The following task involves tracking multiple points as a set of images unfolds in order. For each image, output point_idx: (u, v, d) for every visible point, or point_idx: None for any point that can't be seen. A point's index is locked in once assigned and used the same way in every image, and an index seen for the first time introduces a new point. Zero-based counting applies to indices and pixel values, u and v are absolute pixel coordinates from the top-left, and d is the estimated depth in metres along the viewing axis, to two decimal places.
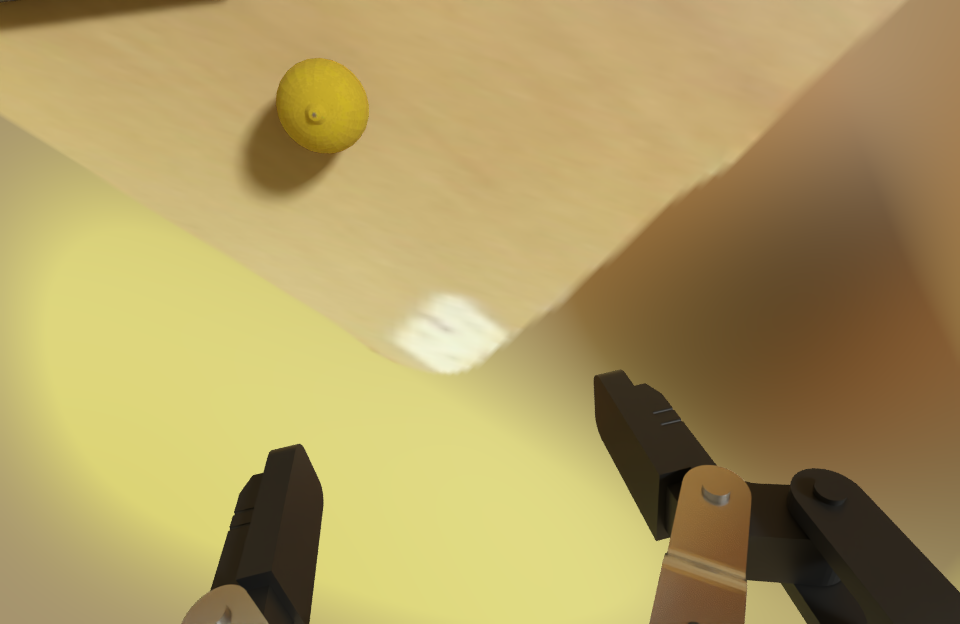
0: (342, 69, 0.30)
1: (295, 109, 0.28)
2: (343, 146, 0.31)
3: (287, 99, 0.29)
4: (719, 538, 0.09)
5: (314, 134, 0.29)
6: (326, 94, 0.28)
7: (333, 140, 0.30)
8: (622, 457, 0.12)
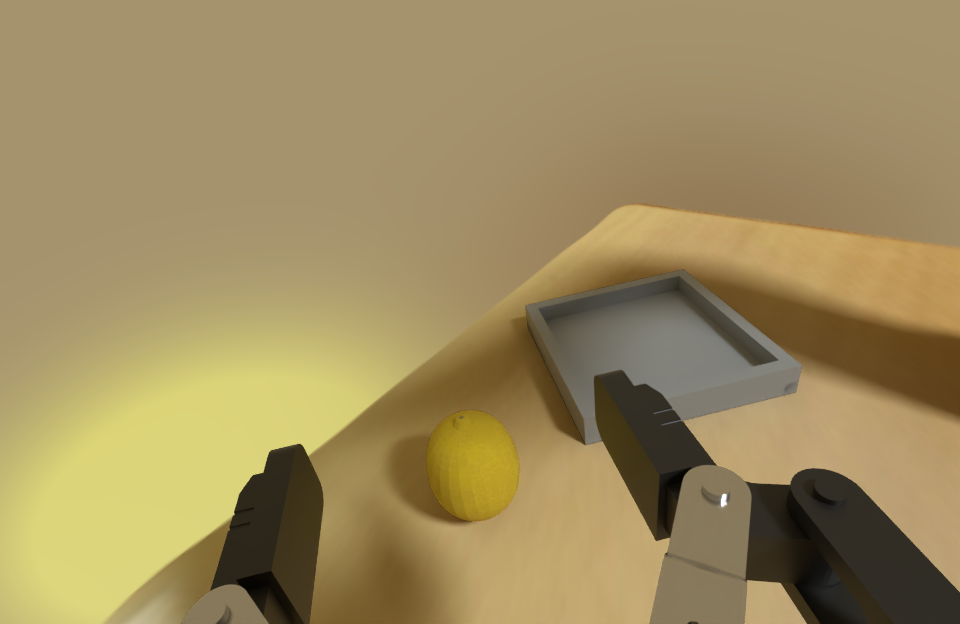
0: (509, 469, 0.28)
1: (467, 411, 0.29)
2: (431, 463, 0.28)
3: None
4: (718, 539, 0.09)
5: (444, 425, 0.29)
6: (481, 432, 0.28)
7: (438, 443, 0.28)
8: (622, 457, 0.12)
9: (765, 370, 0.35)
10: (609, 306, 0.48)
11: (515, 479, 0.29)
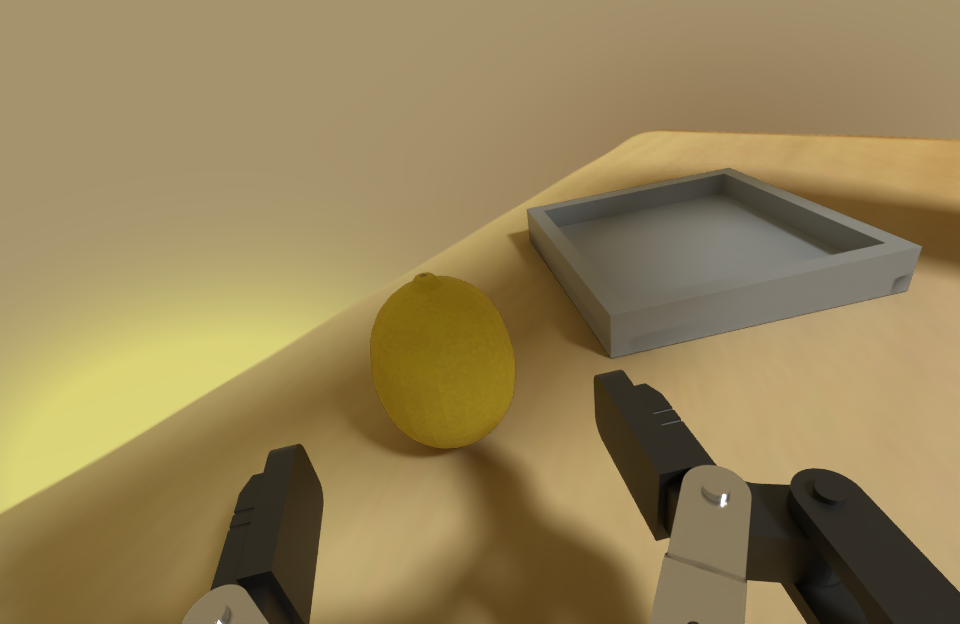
0: (498, 359, 0.18)
1: None
2: (375, 348, 0.18)
3: None
4: (718, 538, 0.09)
5: (396, 292, 0.18)
6: (455, 297, 0.17)
7: (385, 316, 0.18)
8: (622, 457, 0.12)
9: (869, 254, 0.25)
10: (634, 212, 0.38)
11: (508, 380, 0.18)
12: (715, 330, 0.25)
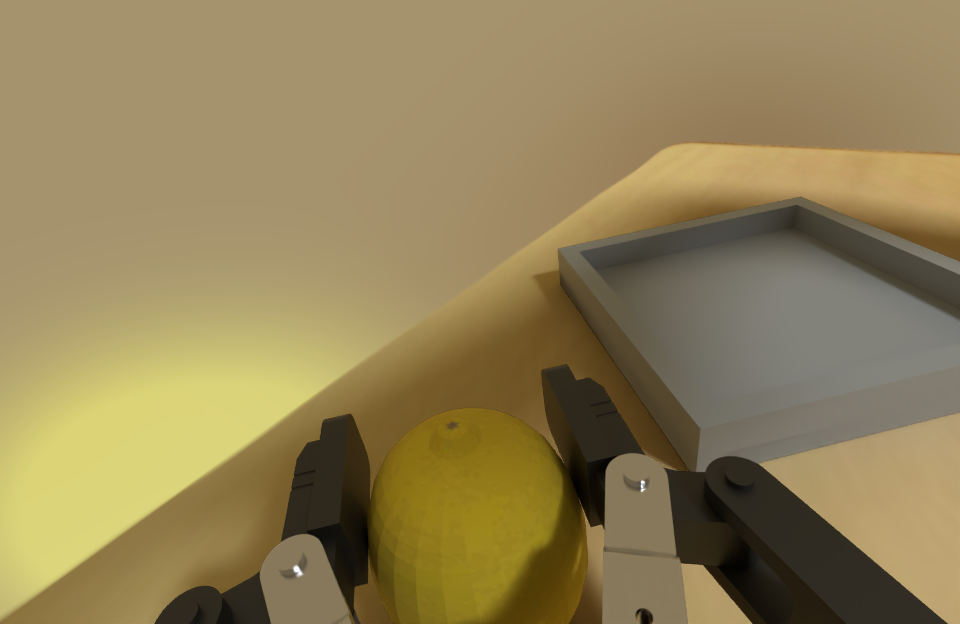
0: (572, 557, 0.11)
1: (466, 411, 0.12)
2: (375, 540, 0.11)
3: (487, 409, 0.13)
4: (647, 522, 0.09)
5: (409, 443, 0.12)
6: (504, 464, 0.11)
7: (391, 492, 0.11)
8: (564, 448, 0.13)
9: None
10: (688, 251, 0.31)
11: (582, 577, 0.12)
12: (834, 439, 0.18)
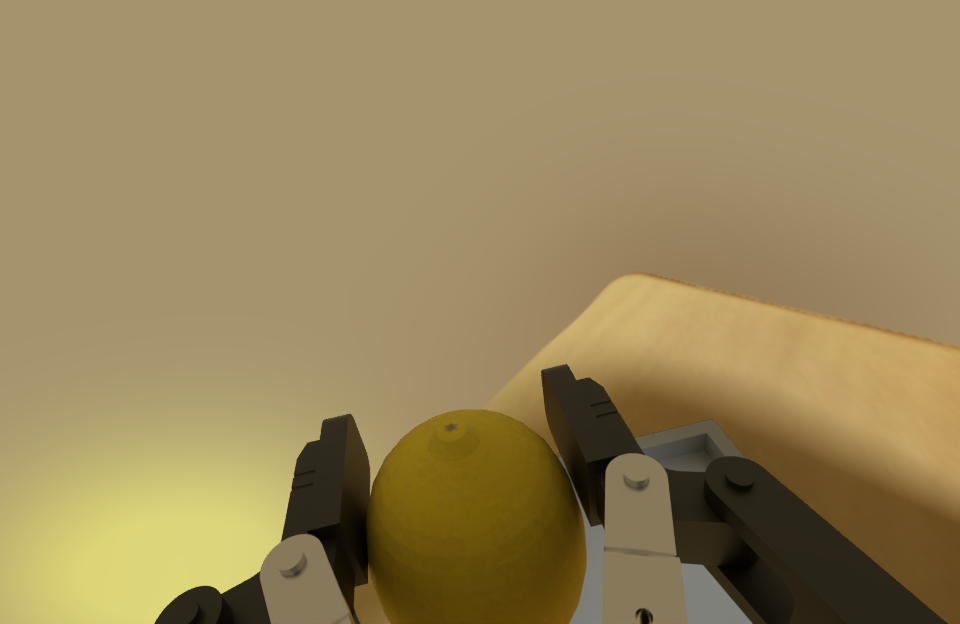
0: (570, 559, 0.11)
1: (465, 413, 0.12)
2: (374, 543, 0.11)
3: (486, 410, 0.13)
4: (647, 523, 0.09)
5: (408, 446, 0.12)
6: (502, 466, 0.11)
7: (390, 493, 0.11)
8: (564, 448, 0.13)
9: None
10: None
11: (581, 579, 0.12)
12: None
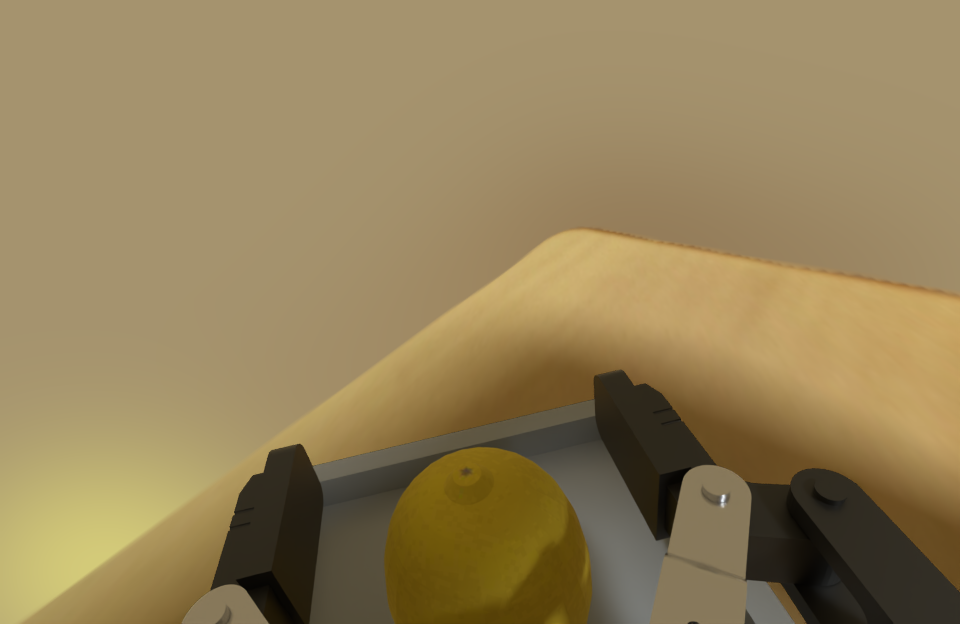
0: (578, 595, 0.12)
1: (477, 453, 0.13)
2: (393, 579, 0.12)
3: (497, 449, 0.14)
4: (718, 538, 0.09)
5: (424, 486, 0.12)
6: (515, 509, 0.11)
7: (408, 534, 0.12)
8: (622, 457, 0.12)
9: None
10: None
11: (587, 610, 0.13)
12: None
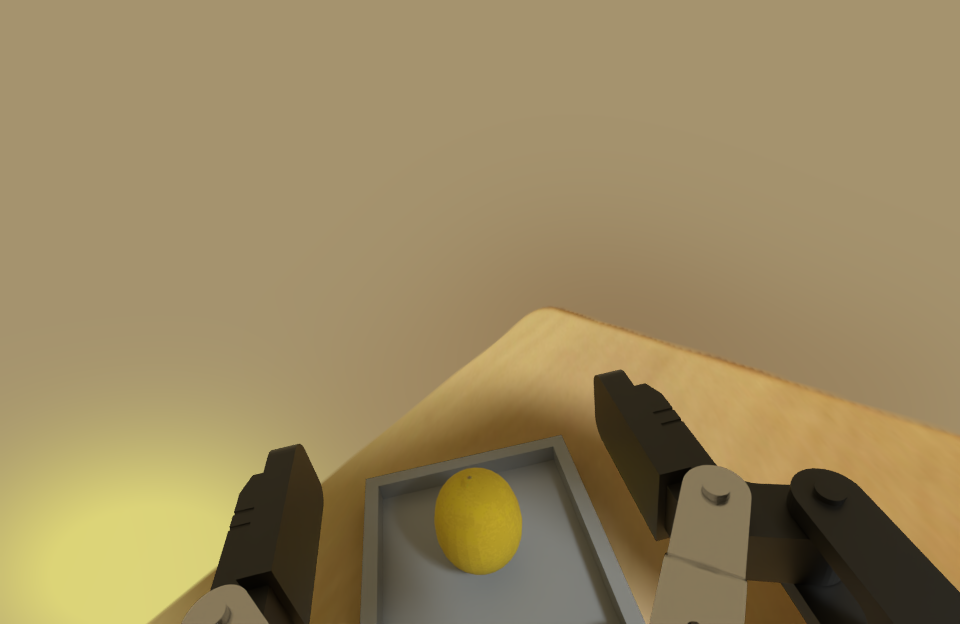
0: (513, 527, 0.30)
1: (474, 470, 0.31)
2: (440, 520, 0.30)
3: (482, 468, 0.32)
4: (718, 538, 0.09)
5: (452, 483, 0.30)
6: (488, 492, 0.30)
7: (446, 501, 0.30)
8: (622, 457, 0.12)
9: None
10: None
11: (518, 536, 0.31)
12: None
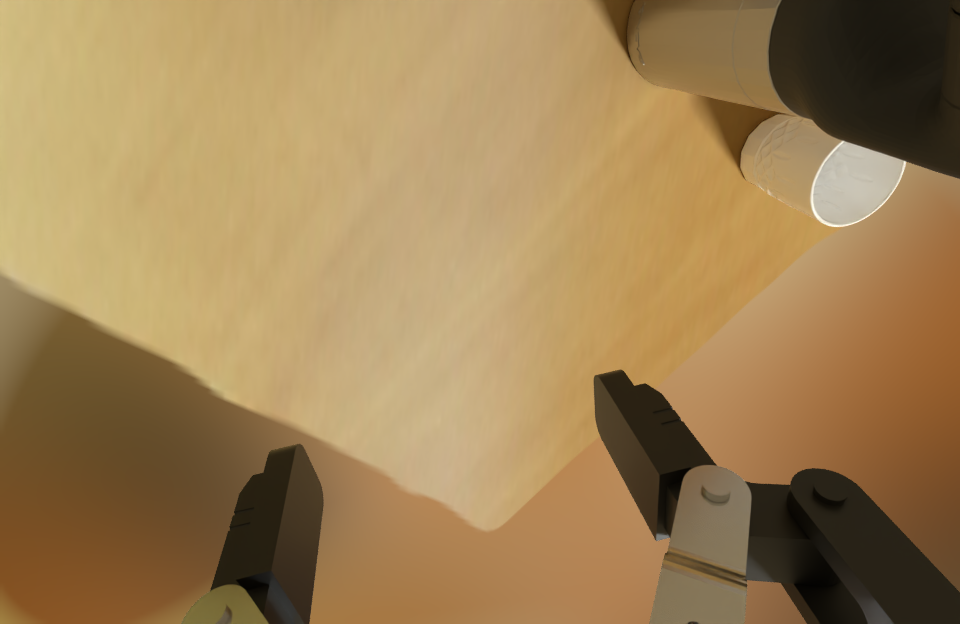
0: None
1: None
2: None
3: None
4: (719, 538, 0.09)
5: None
6: None
7: None
8: (622, 457, 0.12)
9: None
10: None
11: None
12: None
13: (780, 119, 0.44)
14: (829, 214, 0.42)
